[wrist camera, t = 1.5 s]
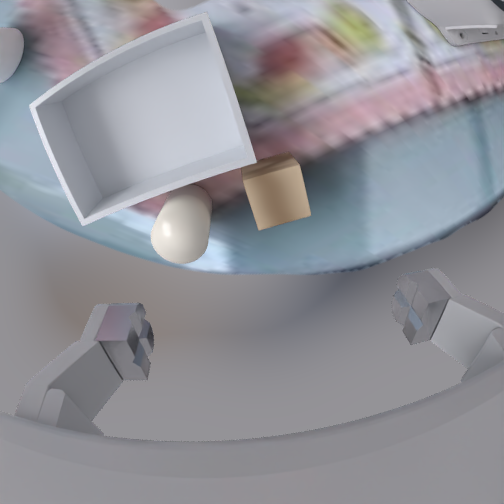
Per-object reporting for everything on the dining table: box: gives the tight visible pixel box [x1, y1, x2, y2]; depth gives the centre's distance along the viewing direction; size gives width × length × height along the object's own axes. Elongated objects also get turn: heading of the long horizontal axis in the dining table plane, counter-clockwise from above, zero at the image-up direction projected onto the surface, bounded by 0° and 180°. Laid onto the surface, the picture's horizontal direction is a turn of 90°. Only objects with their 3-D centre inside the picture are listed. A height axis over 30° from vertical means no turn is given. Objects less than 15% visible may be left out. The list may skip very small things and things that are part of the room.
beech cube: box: [241, 152, 311, 230], centre depth 27 cm, size 5×5×5 cm
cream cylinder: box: [151, 184, 212, 264], centre depth 27 cm, size 5×5×7 cm
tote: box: [29, 12, 257, 226], centre depth 22 cm, size 17×13×6 cm
